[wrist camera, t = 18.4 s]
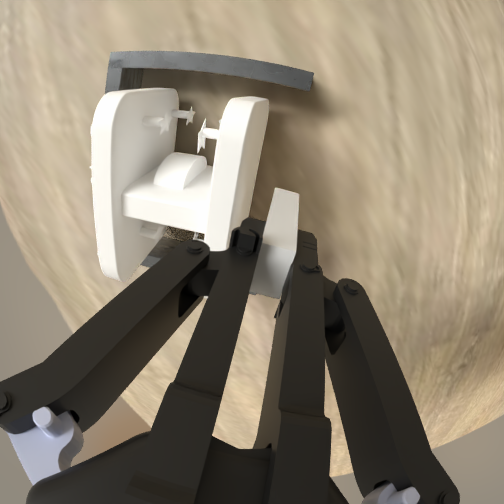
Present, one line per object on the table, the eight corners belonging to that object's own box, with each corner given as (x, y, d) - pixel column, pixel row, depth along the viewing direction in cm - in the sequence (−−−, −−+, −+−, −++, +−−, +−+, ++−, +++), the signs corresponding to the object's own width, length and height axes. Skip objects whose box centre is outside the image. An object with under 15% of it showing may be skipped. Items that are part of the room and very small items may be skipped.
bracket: (310, 75, 21) (314, 72, 18) (260, 272, 32) (256, 295, 29) (132, 54, 21) (110, 52, 18) (122, 237, 33) (105, 254, 29)
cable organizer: (244, 243, 31) (218, 322, 21) (152, 222, 31) (96, 285, 21) (273, 99, 23) (256, 103, 13) (162, 85, 23) (84, 91, 13)
